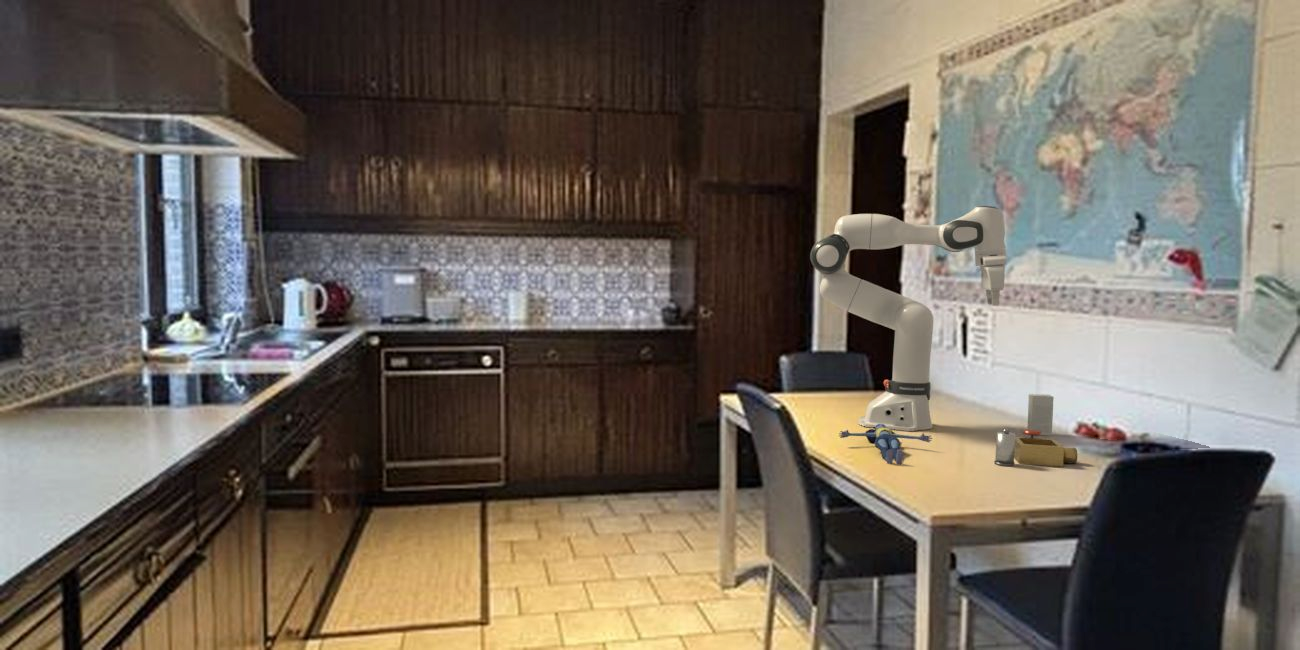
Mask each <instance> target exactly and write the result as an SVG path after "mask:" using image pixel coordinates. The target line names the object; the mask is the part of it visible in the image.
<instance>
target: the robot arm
mask: <svg viewBox="0 0 1300 650" xmlns="http://www.w3.org/2000/svg"><path fill="white" fill-rule="evenodd" d="M834 225H835V226H834V230H833V233H832V234H830V235H829V236H827V237H825V238H824V237H823V238H822V239H820V240H818V241H817V242H816V243H815V244H814V245H813V246H812V248H811V251H810V257H809V258H810V261H811V262H810V263H811V264H812V266H813V268H814V269H816V270H817V272H819V273H820V274H821V276H822V278H821V280H820V281H821V282H820V284H819V294H820V296H821V297H822V298H823V300H826V301H827V302H828V303H830V304H832V305H834V306H835V307H838V308H839V309H841V310H843V311H845V312H848V313H850V314H852V315H855V316H858V317H860V318H862V319H865V320H867V321H870V322H872V323H875V324H877V325H881V326H883V327H886V328H888V329H891V330H893V331H894V340H893V341H894V343H893V352H892V353H893V356H892V378H891V380H889V379H884V381H883V386H884V389H885V391H884V392H883V393H881V394H880V395H878V396H877V397H875V398H874V399H872V400H871V401H870V402H869V403H868V404H867V407H866V408H865V414H864V415H865V416H861V417H859V418H858V420H857V421H858V422H857V423H858V425H859V424H860V426H861V425H862V426H861V427H864V426H865V427H866V428H873V427H876V425H878V424H884V425H885V426H886V428H888V429H890V430H894V429H895V431H906V432H915V431H920V430H921V431H924V430H930V429H932V428H933V423H932V418H931V411H930V398H931V388H932V387H931V382H930V368H931V352H932V344H933V334H934V333H933V331H934V316H933V313H932V311H931V310H930V308H928V306H927V305H924V304H923V303H921V302H919V301H917V300H914V299H912V298H910V297H907V296H904V295H902V294H899V293H897V292H894V291H892V290H890V289H886V288H884V287H882V286H880V285H877V284H874V283H872V282H870V281H867V280H866V279H865V280H864V279H861V278H859V277H857V276H854V275H853V274H851V273H849V272H848V271H846V268H845V265H846V264H845V263H846V261H847V256H848V253H849V252H850V251H853V250H886V249H892V248H893V249H894V248H896V247H900V246H904V245H906V246H907V245H922V246H923V245H927V246H937V247H940V248H942V249H944V250H945V251H948V252H952V253H960V252H963V251H964V250H967V249H969V248H973V249H974V262H975V264H974V265H975V267H979V270H980V278H981V279H980V282H981V283H980V284H981V288H982V289H983V290H985V295H986V300H987V302H986V303H987V304H988V305H992V306H993V307H994V306H999V305H1000V297H1001V296H1000V293H1001V291H1003V290H1004V287H1005V274H1006V273H1005V272H1006V271H1005V269H1006V268H1005V266H1006V265H1007V262H1008V261H1007V247H1006V243H1005V236H1006V228H1005V220H1004V215H1003V212H1002V210H1001V209H1000V208H999V207H996V206H988V205H979V206H975V207H974V208H973V209H972V210H970V211H969V212H968V213H966V214H964V215H963V216H960V217H958V218H956V219H953V220H950V221H947V222H945V223H941V224H936V225H935V224H933V225H932V224H917V223H916V224H913V223H908V222H905V221H903V220H900V219H898V218H897V217H894V216H892V215H891V216H890V215H885V214H882V213H881V214H880V213H857V214H847V215H843V216H841V217H840V218H838V220H837V221H836V223H835V224H834Z"/></svg>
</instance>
